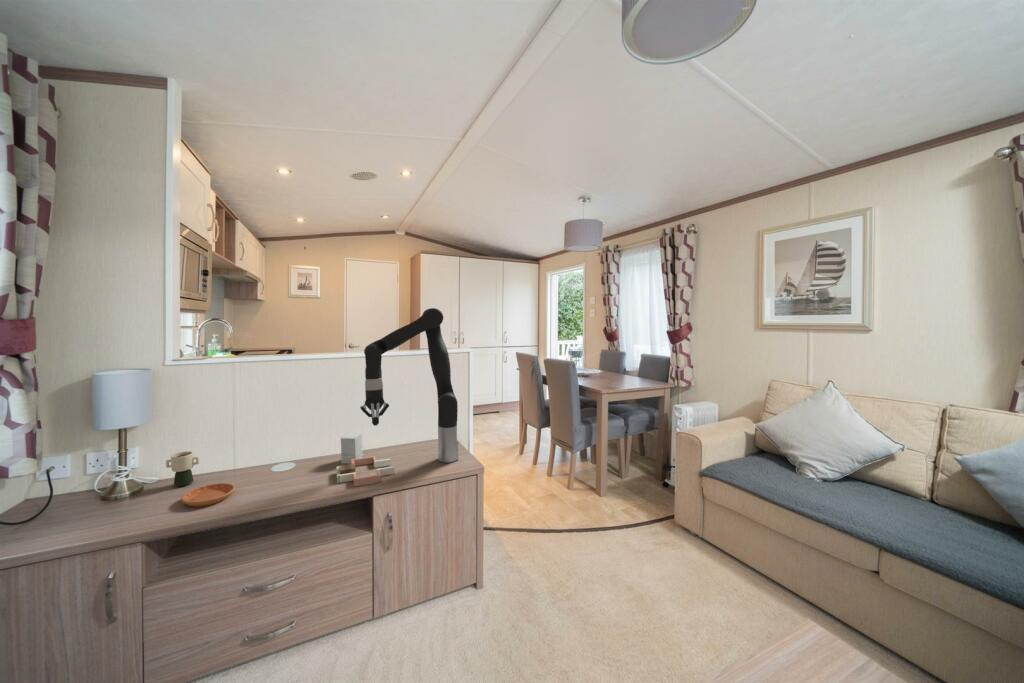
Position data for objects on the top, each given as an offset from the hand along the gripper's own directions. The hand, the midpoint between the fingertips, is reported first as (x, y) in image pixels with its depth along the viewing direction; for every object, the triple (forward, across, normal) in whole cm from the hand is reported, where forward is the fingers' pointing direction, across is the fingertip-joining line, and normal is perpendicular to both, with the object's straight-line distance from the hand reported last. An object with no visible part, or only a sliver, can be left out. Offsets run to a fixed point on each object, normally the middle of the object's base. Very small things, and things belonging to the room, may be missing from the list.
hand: (375, 425), depth 176 cm
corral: (+21, +5, +3) cm, 21 cm away
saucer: (+20, +62, +2) cm, 65 cm away
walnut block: (+21, +13, +3) cm, 25 cm away
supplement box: (+21, +10, -16) cm, 28 cm away
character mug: (+20, +75, -18) cm, 79 cm away
